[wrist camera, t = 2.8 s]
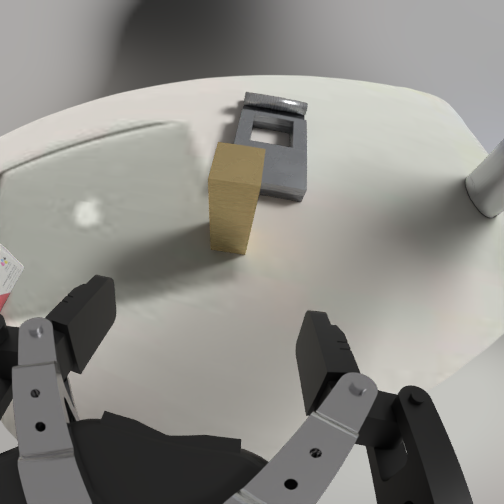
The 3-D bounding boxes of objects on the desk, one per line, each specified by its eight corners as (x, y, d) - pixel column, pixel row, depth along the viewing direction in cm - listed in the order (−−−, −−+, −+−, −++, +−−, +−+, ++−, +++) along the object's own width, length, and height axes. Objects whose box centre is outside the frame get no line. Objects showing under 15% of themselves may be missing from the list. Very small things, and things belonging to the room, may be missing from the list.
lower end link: (302, 110, 41) (307, 95, 38) (301, 170, 35) (308, 153, 32) (245, 100, 40) (247, 84, 37) (232, 158, 35) (233, 140, 32)
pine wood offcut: (249, 224, 31) (265, 148, 20) (245, 254, 30) (260, 186, 19) (216, 219, 31) (218, 142, 20) (210, 249, 30) (208, 178, 19)
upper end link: (302, 132, 38) (306, 120, 36) (301, 201, 33) (306, 190, 31) (240, 121, 38) (242, 108, 36) (225, 189, 33) (226, 176, 31)
